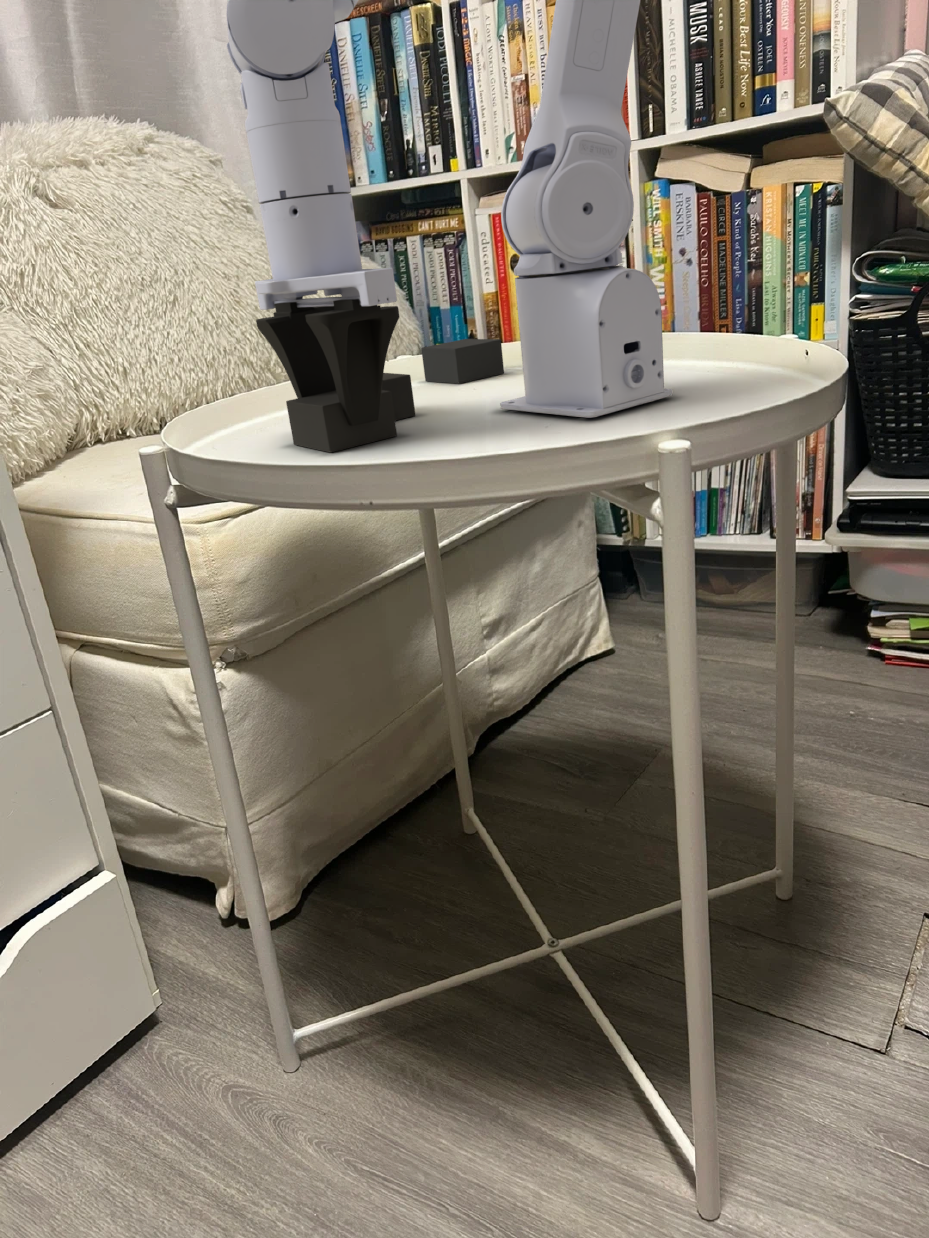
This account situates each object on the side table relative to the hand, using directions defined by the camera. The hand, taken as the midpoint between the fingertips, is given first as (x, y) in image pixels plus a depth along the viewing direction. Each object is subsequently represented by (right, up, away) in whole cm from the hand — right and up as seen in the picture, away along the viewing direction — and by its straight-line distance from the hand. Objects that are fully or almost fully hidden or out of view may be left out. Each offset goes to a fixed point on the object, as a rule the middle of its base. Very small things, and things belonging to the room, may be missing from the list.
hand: (341, 419), depth 63 cm
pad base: (+8, +9, +22) cm, 25 cm away
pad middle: (0, -1, 0) cm, 1 cm away
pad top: (+1, +1, +7) cm, 7 cm away
